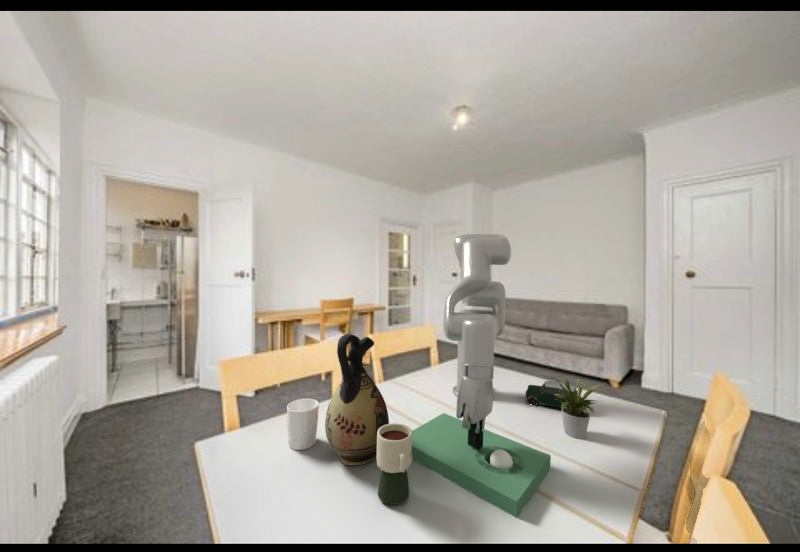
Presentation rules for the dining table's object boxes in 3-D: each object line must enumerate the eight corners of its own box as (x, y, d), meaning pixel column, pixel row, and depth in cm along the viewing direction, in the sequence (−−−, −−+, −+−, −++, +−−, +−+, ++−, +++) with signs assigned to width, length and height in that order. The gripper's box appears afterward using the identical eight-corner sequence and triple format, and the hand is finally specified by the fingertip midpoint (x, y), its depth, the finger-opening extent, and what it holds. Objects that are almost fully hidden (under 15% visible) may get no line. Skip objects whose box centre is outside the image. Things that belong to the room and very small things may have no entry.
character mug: (420, 512, 57) (422, 443, 57) (384, 522, 54) (385, 450, 54) (400, 475, 67) (402, 416, 67) (369, 482, 65) (370, 421, 64)
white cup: (309, 431, 84) (309, 396, 84) (323, 443, 79) (324, 405, 79) (281, 442, 79) (281, 404, 79) (294, 455, 73) (295, 414, 73)
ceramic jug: (350, 431, 85) (352, 325, 85) (398, 447, 78) (401, 330, 77) (305, 465, 70) (307, 335, 69) (360, 488, 63) (363, 344, 62)
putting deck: (397, 450, 76) (398, 438, 76) (443, 422, 91) (443, 413, 91) (516, 517, 56) (516, 501, 56) (550, 468, 71) (550, 455, 71)
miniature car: (527, 395, 114) (527, 374, 114) (582, 407, 105) (583, 384, 105) (523, 404, 106) (524, 381, 106) (583, 417, 97) (584, 392, 97)
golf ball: (497, 480, 68) (484, 457, 71) (515, 469, 70) (501, 446, 72) (501, 479, 64) (487, 455, 67) (520, 467, 66) (506, 443, 68)
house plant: (535, 432, 87) (536, 375, 86) (550, 416, 97) (551, 365, 97) (593, 453, 77) (595, 389, 77) (603, 433, 87) (605, 376, 87)
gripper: (478, 360, 81) (476, 429, 81) (446, 373, 70) (444, 452, 70) (505, 366, 76) (503, 440, 76) (475, 381, 65) (473, 467, 65)
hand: (475, 445), depth 73 cm, fingers closed
